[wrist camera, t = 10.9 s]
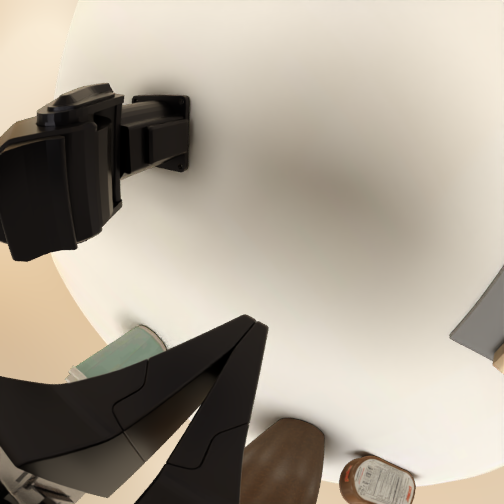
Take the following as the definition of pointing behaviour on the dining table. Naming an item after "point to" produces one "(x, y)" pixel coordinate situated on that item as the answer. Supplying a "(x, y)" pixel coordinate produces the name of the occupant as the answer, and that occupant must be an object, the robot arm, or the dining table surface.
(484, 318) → the mat
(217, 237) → the dining table surface
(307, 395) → the dining table surface
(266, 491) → the plant pot
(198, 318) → the dining table surface
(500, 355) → the domino
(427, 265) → the dining table surface
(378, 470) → the tin
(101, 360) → the disposable coffee cup
